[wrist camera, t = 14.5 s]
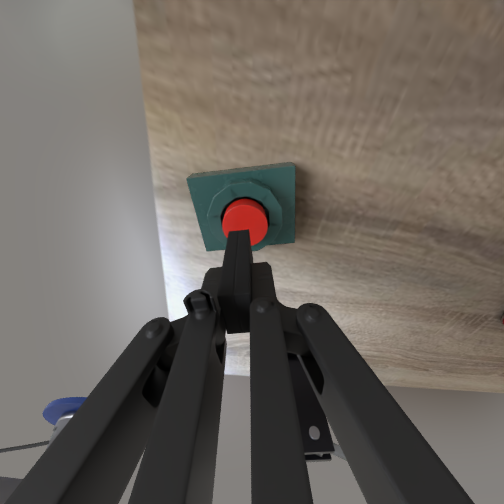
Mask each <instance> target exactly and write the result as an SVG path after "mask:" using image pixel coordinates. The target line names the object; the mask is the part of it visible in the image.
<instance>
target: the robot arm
mask: <svg viewBox="0 0 504 504" xmlns="http://www.w3.org/2000/svg"><path fill="white" fill-rule="evenodd" d="M183 302H184V304H185V307H186V309H187V312H188V315H187V316H185V317H183V318H180V319H178V320H175V321H172V322H170V321H169V320H168V319H167V318H164V317H160V318H155V319H153V320H151V321H149V322H148V323H146V325H144V326H143V327H142V329H141V330H140V331H139V332H138V334H137V335H136V336H135V337H134V339H133V340H132V341H131V343H130V344H129V345H128V346H127V348H126V349H125V350H124V352H123V353H122V354H121V355H120V356H119V358H118V359H117V360H116V362H115V363H114V364H113V365H112V367H111V368H110V369H109V371H108V372H107V373H106V374H105V376H104V377H103V378H102V379H101V381H100V382H99V383H98V385H97V386H96V387H95V388H94V390H93V391H92V392H91V393H90V395H89V396H88V397H87V399H86V400H85V401H84V402H83V404H82V405H81V406H80V408H79V409H78V410H75V411H69V412H66V413H63V414H62V415H61V416H60V418H59V420H58V421H57V423H56V425H55V427H54V429H53V431H54V432H53V434H52V436H51V439H50V441H45V442H40V443H35V444H29V445H24V446H17V447H10V448H5V449H0V453H1V452H6V451H13V450H20V449H26V448H32V447H37V446H42V445H47V444H48V446H47V449H46V451H45V452H44V454H43V455H42V456H41V457H40V459H39V460H38V461H37V462H36V464H35V465H34V467H32V469H31V470H30V471H29V473H28V474H27V475H26V476H25V478H24V479H16V478H8V477H0V504H118V503H119V501H120V499H121V497H122V495H123V493H124V491H125V489H126V487H127V485H128V483H129V481H130V479H131V477H132V474H133V472H134V470H135V468H136V466H137V464H138V462H139V460H140V458H141V456H142V454H143V452H144V450H145V452H144V455H143V458H142V461H141V464H140V468H139V471H138V474H137V477H136V480H135V483H134V486H133V490H132V493H131V496H130V499H129V502H128V504H212V498H213V487H214V476H215V466H216V454H217V444H218V433H219V423H220V412H221V401H222V390H223V379H224V369H225V358H226V347H227V343H226V338H225V333H226V330H227V334H234V333H246V332H250V378H251V379H250V387H251V388H250V391H251V488H252V490H251V494H252V504H313V499H312V493H311V488H310V482H309V476H308V471H307V465H306V459H305V453H304V447H303V442H302V436H301V430H300V425H299V419H298V413H297V407H296V402H295V396H294V390H293V384H292V379H291V373H290V367H289V362H288V356H287V352H289V353H292V354H296V355H297V357H298V359H299V361H300V363H301V365H302V367H303V369H304V371H305V373H306V375H307V378H308V380H309V382H310V384H311V386H312V388H313V390H314V392H315V394H316V396H317V399H318V401H319V403H320V405H321V407H322V409H323V411H324V413H325V415H326V417H327V420H328V422H329V424H330V426H331V428H332V430H333V432H334V434H335V436H336V439H337V441H338V443H339V445H340V447H341V449H342V451H343V453H344V455H345V457H346V460H347V462H348V464H349V466H350V468H351V470H352V472H353V474H354V476H355V478H356V480H357V483H358V485H359V487H360V489H361V491H362V493H363V495H364V497H365V499H366V502H367V504H474V503H473V501H472V500H471V499H470V497H469V496H468V495H467V493H466V492H465V491H464V489H463V488H462V487H461V485H460V484H459V483H458V482H457V480H456V479H455V478H454V476H453V475H452V474H451V473H450V471H449V470H448V468H447V467H446V466H445V465H444V463H443V462H442V461H441V459H440V458H439V457H438V455H437V454H436V453H435V452H434V450H433V449H432V448H431V446H430V445H429V444H428V442H427V441H426V440H425V439H424V437H423V436H422V435H421V433H420V432H419V431H418V429H417V428H416V427H415V426H414V424H413V423H412V422H411V420H410V419H409V418H408V416H407V415H406V414H405V412H404V411H403V410H402V409H401V407H400V406H399V405H398V403H397V402H396V401H395V399H394V398H393V397H392V395H391V394H390V393H389V392H388V390H387V389H386V388H385V386H384V385H383V384H382V382H381V381H380V380H379V379H378V377H377V376H376V375H375V373H374V372H373V371H372V369H371V368H370V367H369V366H368V364H367V363H366V362H365V360H364V359H363V358H362V356H361V355H360V354H359V352H358V351H357V350H356V349H355V347H354V346H353V345H352V343H351V342H350V341H349V339H348V338H347V337H346V336H345V334H344V333H343V332H342V330H341V329H340V328H339V326H338V325H337V324H336V323H335V321H334V320H333V319H332V317H331V316H330V315H329V313H328V312H327V311H326V310H325V309H324V308H323V307H322V306H320V305H318V304H314V303H306V304H303V305H301V306H300V307H299V308H298V309H295V308H290V307H286V306H284V305H282V304H281V303H280V302H279V301H278V300H277V297H276V292H275V287H274V281H273V275H272V269H271V266H270V265H269V264H268V263H267V262H261V263H253V256H252V248H251V241H250V233H249V229H247V230H237V231H229V233H228V238H227V244H226V249H225V255H224V260H223V266H222V267H217V268H210V269H209V270H208V271H207V273H206V274H205V277H204V281H203V284H202V288H201V289H199V290H195V291H193V292H191V293H189V294H188V295H187V296H186V297H185V298H184V300H183ZM145 448H146V449H145Z"/></svg>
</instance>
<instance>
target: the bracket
mask: <svg viewBox="0 0 504 504" xmlns="http://www.w3.org/2000/svg"><path fill="white" fill-rule="evenodd" d="M287 356H288V362H289V367H290V373H291V379H292V384H293V390H294V396H295V402H296V407H297V413H298V419H299V425H300V430H301V436H302V442H303V447H304V453H305V459H306V462H319V461H331V455H330V453H334V452H335V449H334V445H333V441H332V438H331V434H330V430H329V427H328V423H327V419H326V415H325V413H324V411H323V409H322V407H321V405H320V403H319V401H318V399H317V396H316V394H315V392H314V390H313V388H312V386H311V384H310V382H309V380H308V378H307V375H306V373H305V371H304V369H303V367H302V365H301V363H300V361H299V359H298V357H297V355H296V354H292V353H289V352H287ZM316 454H323V455H322V457H320V456H318V455H316Z"/></svg>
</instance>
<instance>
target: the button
mask: <svg viewBox="0 0 504 504" xmlns="http://www.w3.org/2000/svg"><path fill="white" fill-rule="evenodd" d="M222 228H223V232H224V234H225V236H226V237H227V238H228V233H229V231H237V230H247V229H249V233H250V241H251V246H252V245H255V244H257V243H259V242H260V241H261V240H262V239H263V238H264V237H265V235H266V233H267V229H268V223H267V218H266V213H265V211H264V209H263V207H262V206H261V205H260V204H259V203H257V202H256V201H254V200H251V199H239V200H237V201H234V202H233V203H231V204H230V205H229V206H228V208H227V209H226V212H225V215H224V219H223V223H222Z"/></svg>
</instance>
